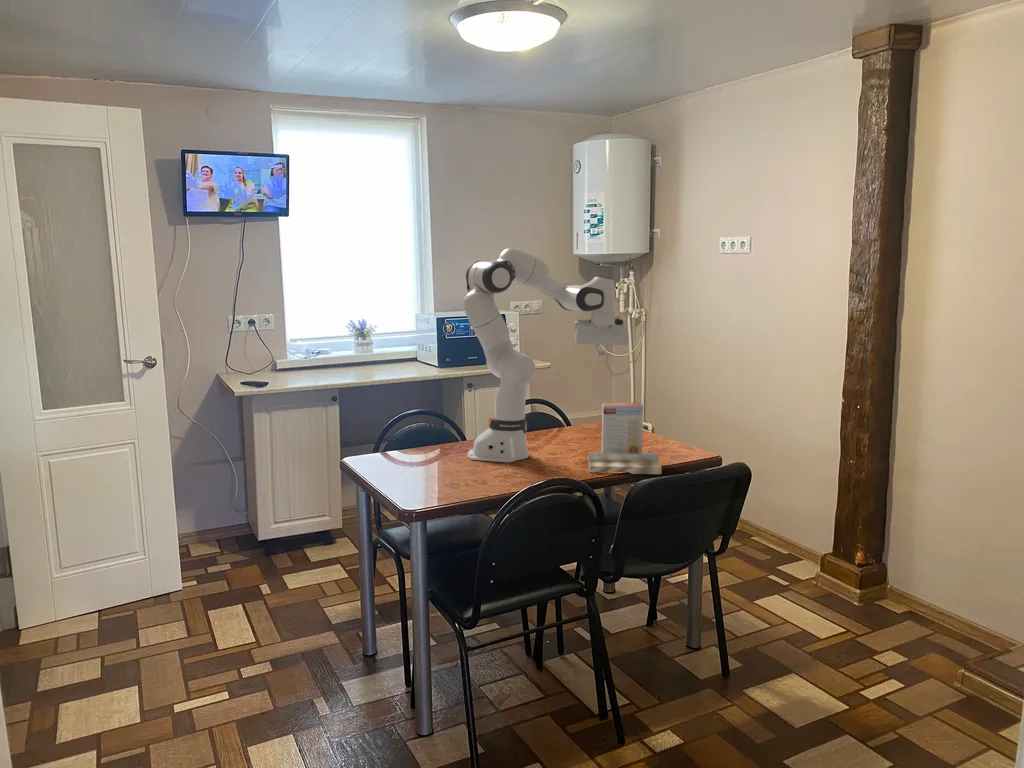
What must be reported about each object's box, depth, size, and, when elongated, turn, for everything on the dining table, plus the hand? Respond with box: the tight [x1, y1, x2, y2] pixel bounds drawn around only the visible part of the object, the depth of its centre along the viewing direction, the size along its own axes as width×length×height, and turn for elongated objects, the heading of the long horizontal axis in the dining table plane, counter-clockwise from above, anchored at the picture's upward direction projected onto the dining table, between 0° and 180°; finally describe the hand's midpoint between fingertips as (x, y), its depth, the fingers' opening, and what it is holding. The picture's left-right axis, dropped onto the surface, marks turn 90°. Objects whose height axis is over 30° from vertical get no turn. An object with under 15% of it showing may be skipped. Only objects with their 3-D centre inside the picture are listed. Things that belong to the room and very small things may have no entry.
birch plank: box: [588, 460, 663, 475], centre depth 265 cm, size 24×7×2 cm, turn 88°
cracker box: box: [600, 402, 644, 453], centre depth 276 cm, size 14×6×21 cm, turn 89°
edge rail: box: [588, 451, 660, 463], centre depth 270 cm, size 24×2×5 cm, turn 88°
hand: (601, 356), depth 295 cm, fingers closed
